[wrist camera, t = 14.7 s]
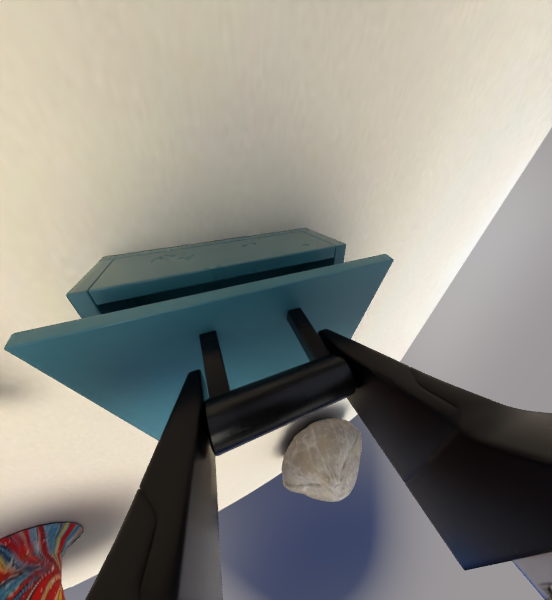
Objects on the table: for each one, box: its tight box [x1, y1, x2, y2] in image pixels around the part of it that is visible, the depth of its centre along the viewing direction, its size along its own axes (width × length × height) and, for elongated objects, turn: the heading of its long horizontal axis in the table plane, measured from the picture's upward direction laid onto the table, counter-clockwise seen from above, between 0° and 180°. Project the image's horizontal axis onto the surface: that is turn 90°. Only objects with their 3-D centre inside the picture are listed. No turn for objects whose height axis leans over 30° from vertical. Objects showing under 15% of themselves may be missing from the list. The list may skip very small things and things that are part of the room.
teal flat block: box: [66, 228, 346, 319], centre depth 16 cm, size 12×15×5 cm
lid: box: [4, 254, 393, 456], centre depth 11 cm, size 12×15×5 cm
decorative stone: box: [282, 418, 362, 502], centre depth 32 cm, size 15×10×15 cm
